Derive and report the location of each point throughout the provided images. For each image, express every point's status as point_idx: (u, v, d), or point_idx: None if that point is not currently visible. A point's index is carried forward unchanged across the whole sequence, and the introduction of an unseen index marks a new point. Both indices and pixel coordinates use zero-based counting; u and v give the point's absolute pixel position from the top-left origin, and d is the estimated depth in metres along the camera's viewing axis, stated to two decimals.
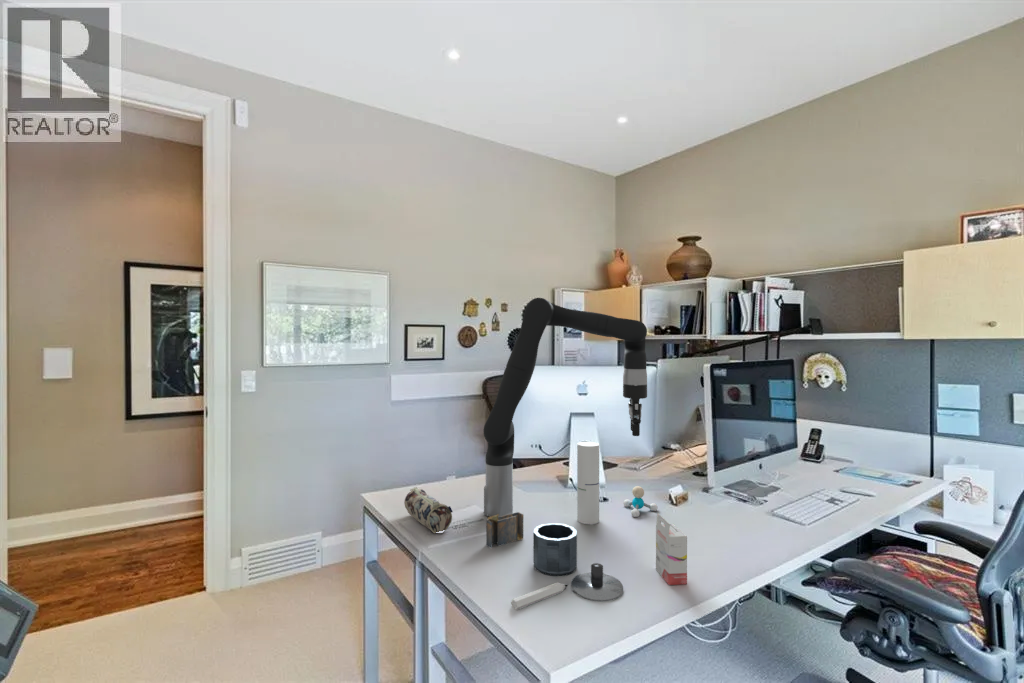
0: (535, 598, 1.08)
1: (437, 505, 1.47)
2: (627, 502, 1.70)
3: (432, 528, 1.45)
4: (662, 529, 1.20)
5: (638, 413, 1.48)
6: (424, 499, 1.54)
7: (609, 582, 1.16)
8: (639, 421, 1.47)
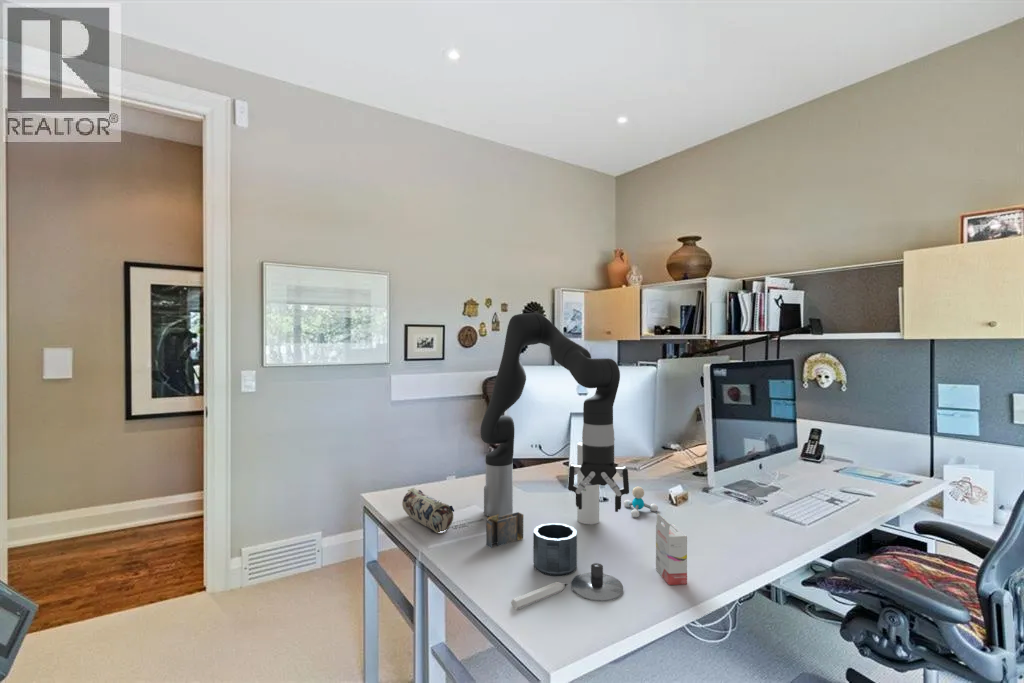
0: (535, 598, 1.08)
1: (439, 505, 1.47)
2: (627, 502, 1.70)
3: (435, 528, 1.45)
4: (662, 529, 1.20)
5: None
6: (424, 499, 1.54)
7: (609, 582, 1.16)
8: None
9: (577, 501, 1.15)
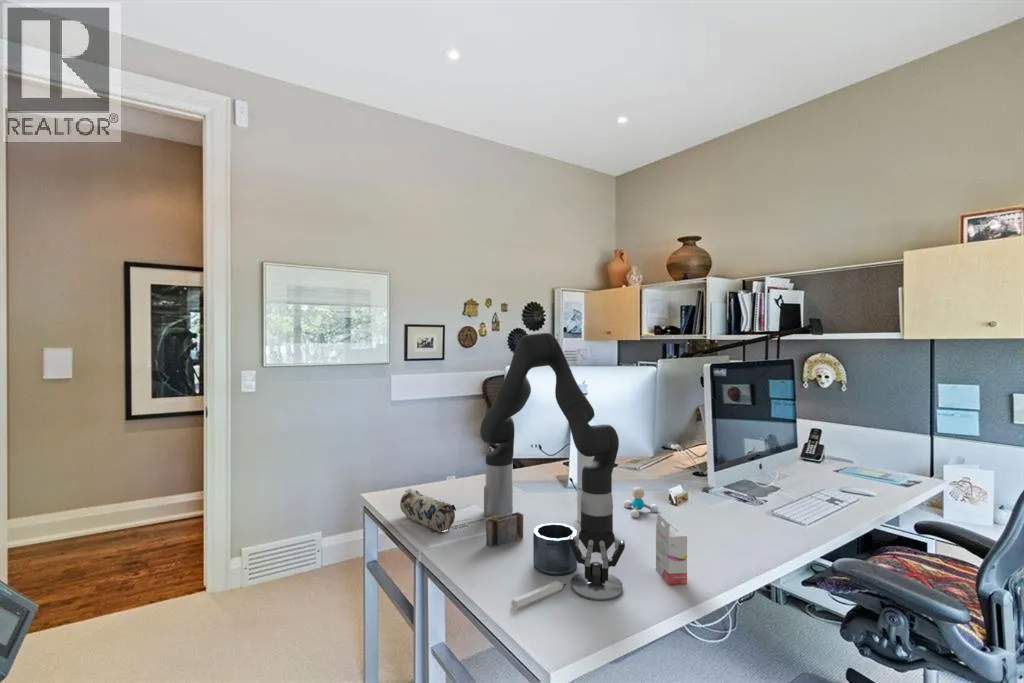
0: (535, 597, 1.08)
1: (442, 504, 1.47)
2: (627, 503, 1.69)
3: (438, 527, 1.46)
4: (662, 529, 1.20)
5: None
6: (424, 499, 1.54)
7: (608, 580, 1.16)
8: None
9: (586, 573, 1.15)
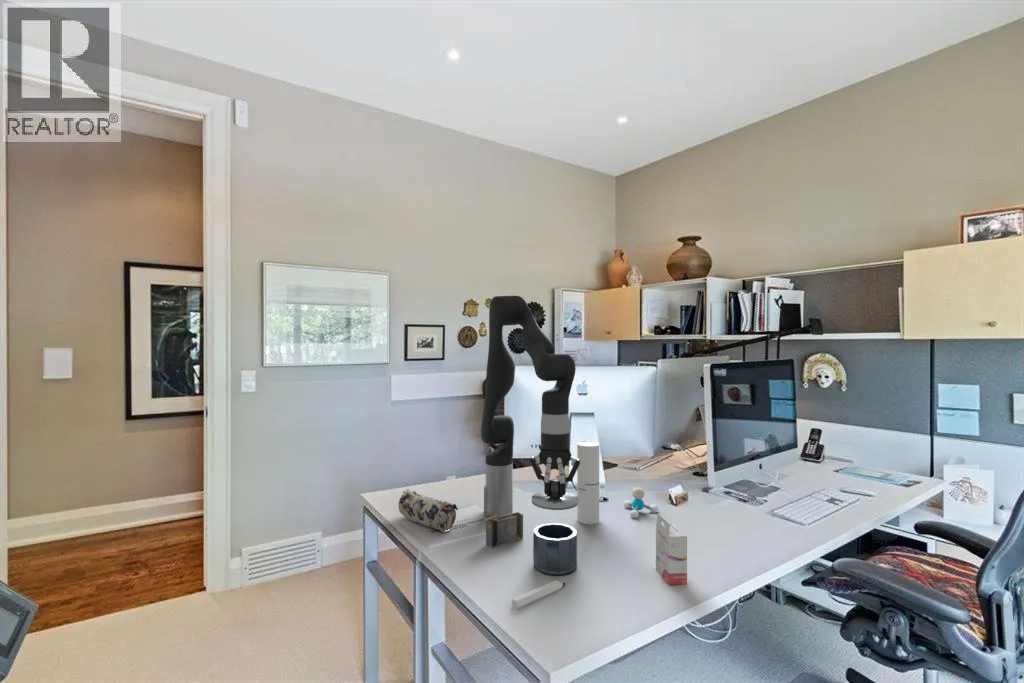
0: (535, 597, 1.09)
1: (444, 504, 1.48)
2: (627, 503, 1.69)
3: (441, 527, 1.46)
4: (662, 529, 1.20)
5: None
6: (424, 500, 1.54)
7: (566, 496, 1.27)
8: None
9: (545, 489, 1.26)
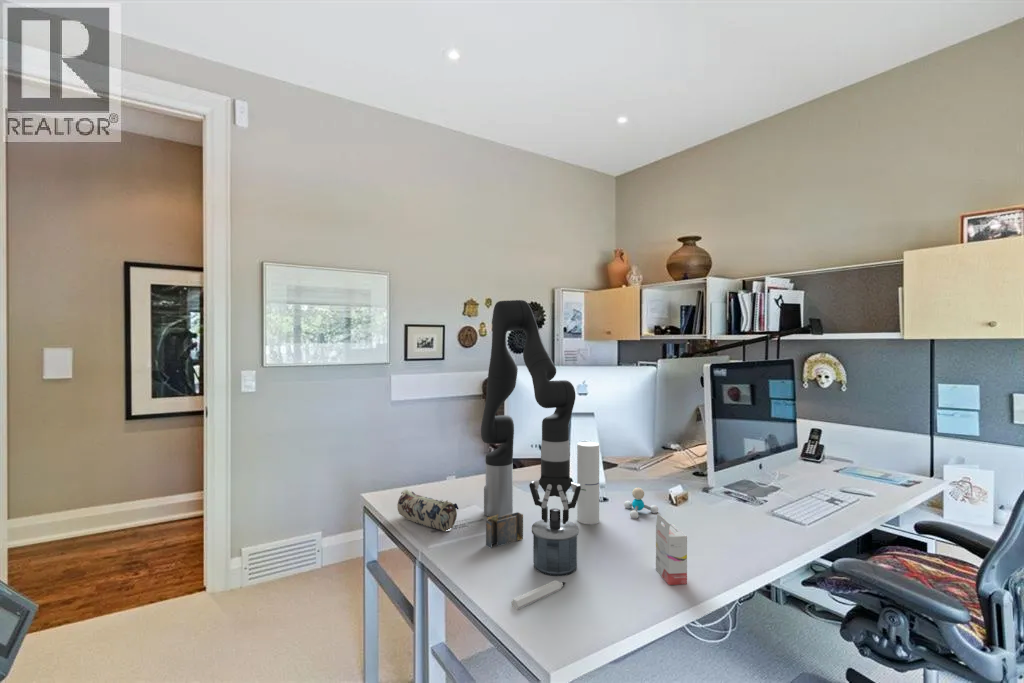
0: (535, 597, 1.09)
1: (446, 503, 1.48)
2: (628, 503, 1.69)
3: (443, 526, 1.46)
4: (662, 529, 1.20)
5: None
6: (424, 500, 1.54)
7: (566, 525, 1.27)
8: None
9: (543, 515, 1.26)
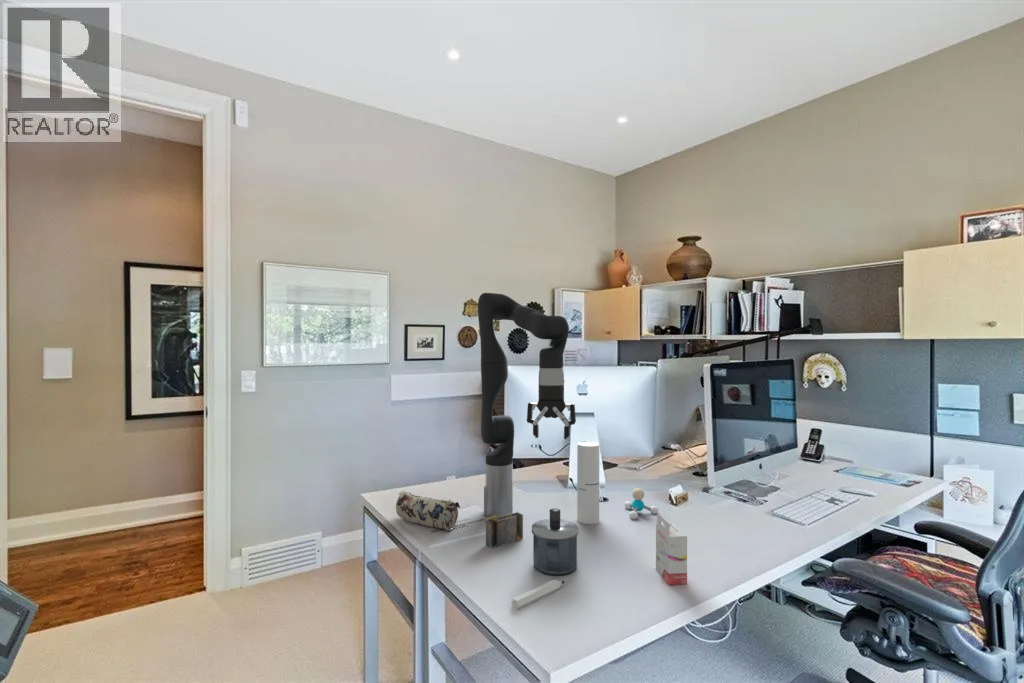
0: (535, 596, 1.09)
1: (449, 502, 1.49)
2: (628, 504, 1.68)
3: (446, 526, 1.47)
4: (662, 529, 1.20)
5: None
6: (425, 500, 1.54)
7: (566, 525, 1.27)
8: (575, 421, 1.42)
9: (534, 431, 1.42)
